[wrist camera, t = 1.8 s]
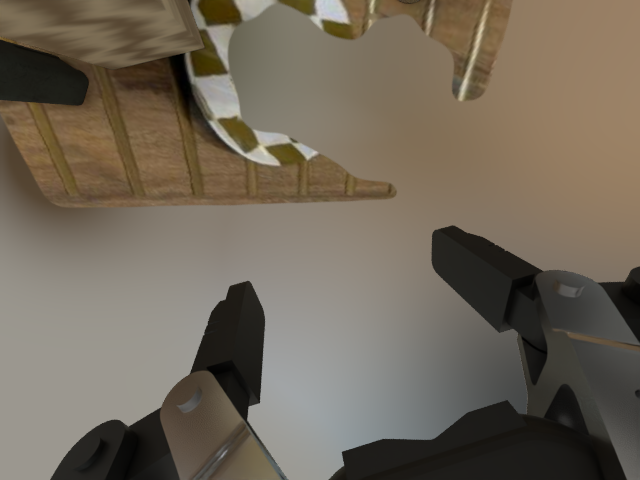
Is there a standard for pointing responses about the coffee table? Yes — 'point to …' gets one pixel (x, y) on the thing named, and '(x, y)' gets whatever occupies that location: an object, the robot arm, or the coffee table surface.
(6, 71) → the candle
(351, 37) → the coffee table surface
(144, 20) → the oak pedestal
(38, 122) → the coffee table surface
